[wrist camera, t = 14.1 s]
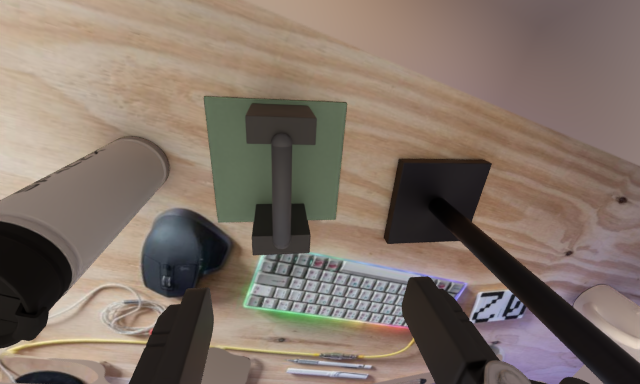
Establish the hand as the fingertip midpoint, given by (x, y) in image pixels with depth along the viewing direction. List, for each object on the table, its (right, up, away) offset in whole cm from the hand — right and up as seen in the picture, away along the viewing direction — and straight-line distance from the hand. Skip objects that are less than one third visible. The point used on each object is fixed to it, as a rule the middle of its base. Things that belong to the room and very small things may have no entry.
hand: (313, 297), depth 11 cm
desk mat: (-5, +7, +22) cm, 23 cm away
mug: (+52, -16, +43) cm, 69 cm away
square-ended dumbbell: (-4, +7, +21) cm, 23 cm away
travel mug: (-20, +7, +19) cm, 28 cm away
